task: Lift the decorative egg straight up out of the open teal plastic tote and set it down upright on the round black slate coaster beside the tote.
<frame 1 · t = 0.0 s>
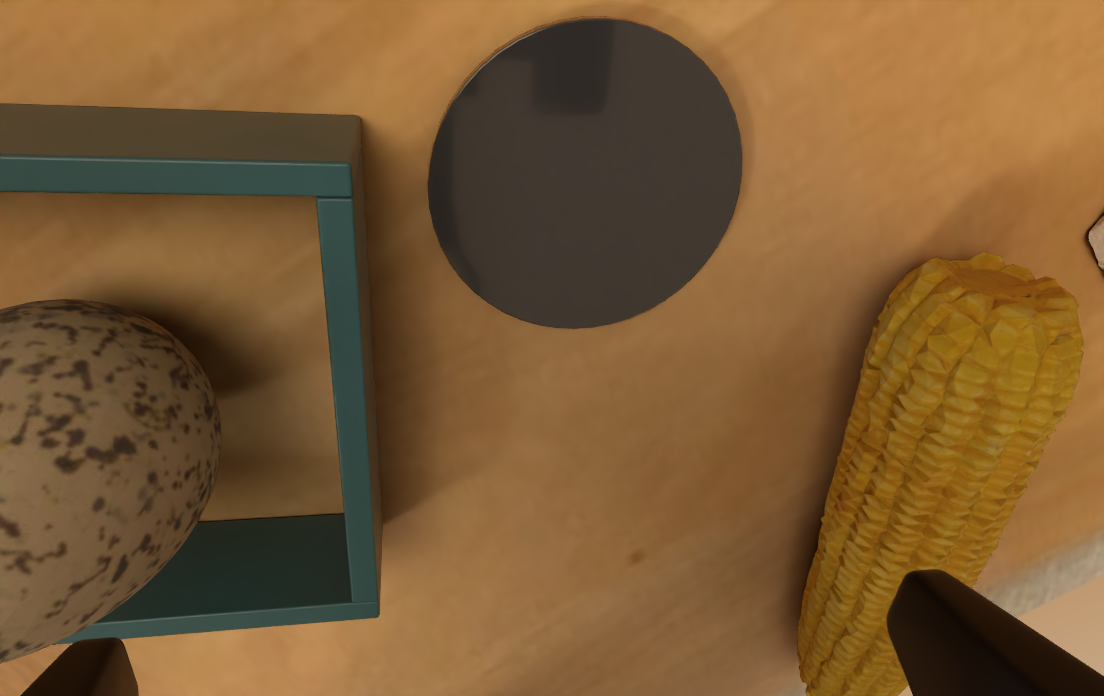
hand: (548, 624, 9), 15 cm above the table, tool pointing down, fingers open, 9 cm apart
coaster: (586, 186, 21), on the table
decorative egg: (118, 356, 22), resting in tote
tote: (116, 359, 22), on the table
food: (863, 469, 30), on the table
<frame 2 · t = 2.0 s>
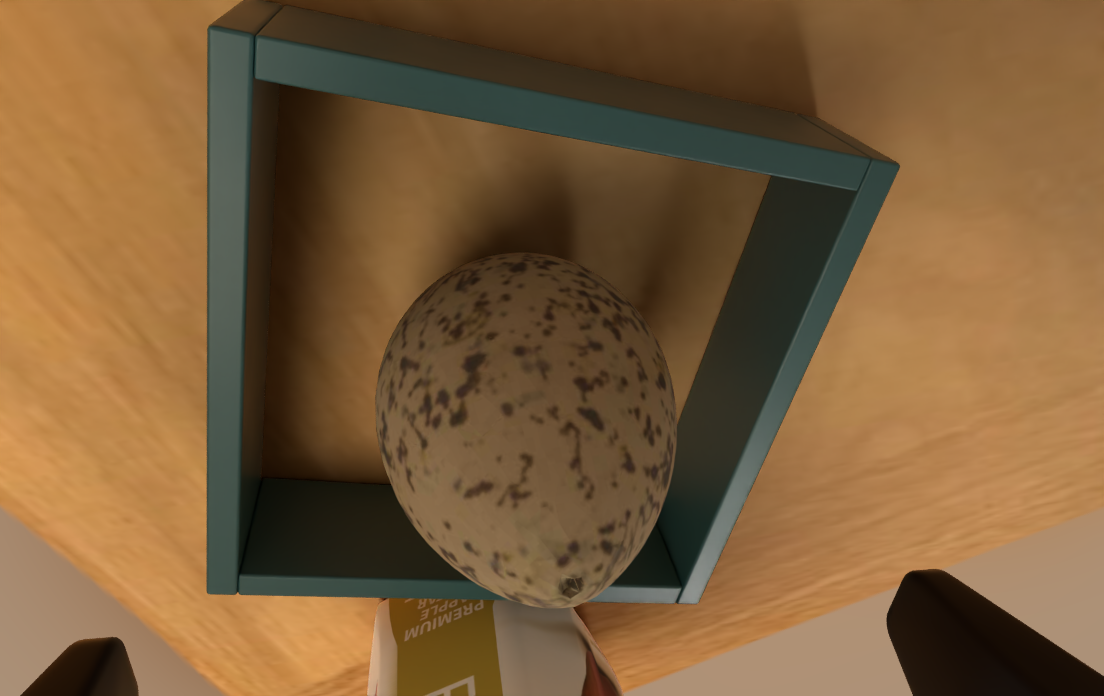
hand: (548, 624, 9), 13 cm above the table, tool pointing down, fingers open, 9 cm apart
juice carton: (490, 616, 29), on the table
decorative egg: (504, 316, 22), resting in tote
tote: (505, 320, 22), on the table
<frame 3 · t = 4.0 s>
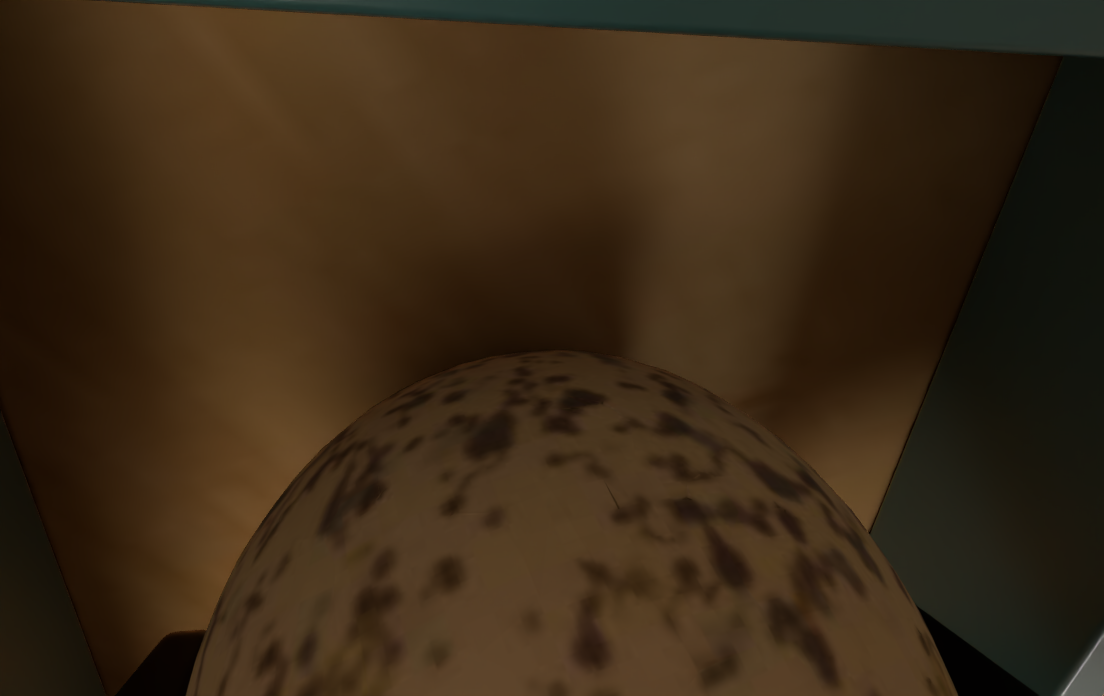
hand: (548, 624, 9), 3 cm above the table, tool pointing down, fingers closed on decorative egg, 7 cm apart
decorative egg: (512, 447, 11), resting in tote, touching gripper
tote: (513, 455, 11), on the table
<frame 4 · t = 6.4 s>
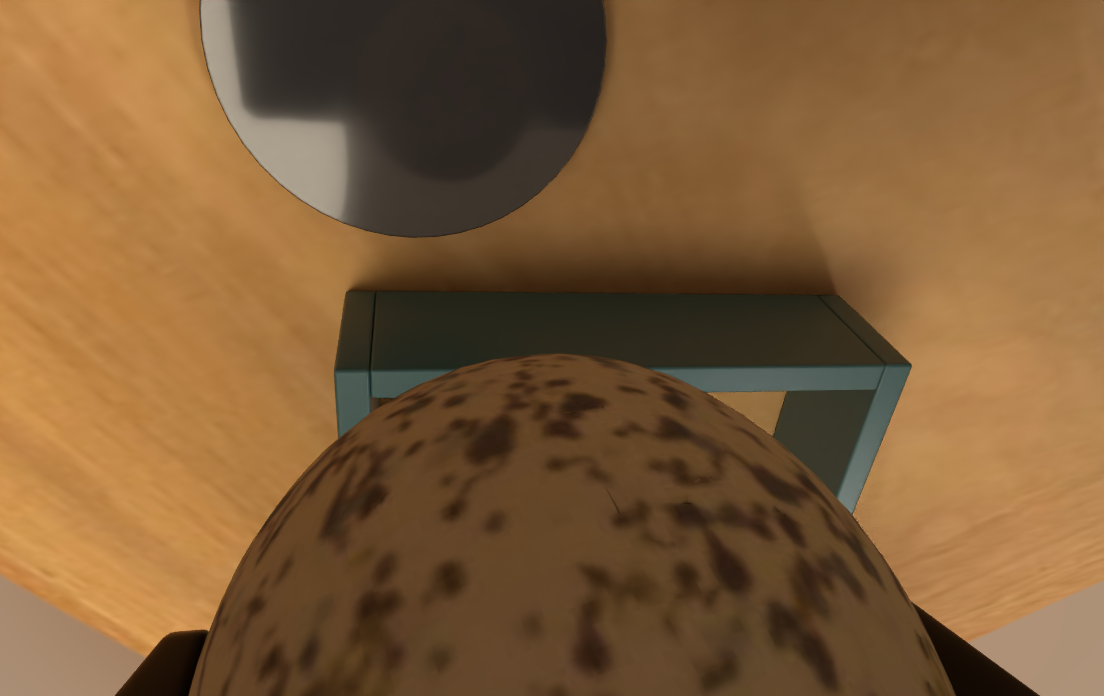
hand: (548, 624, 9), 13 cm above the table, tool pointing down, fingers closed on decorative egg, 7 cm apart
coaster: (413, 50, 17), on the table
decorative egg: (512, 449, 11), point 10 cm above the table, touching gripper
tote: (579, 485, 25), on the table
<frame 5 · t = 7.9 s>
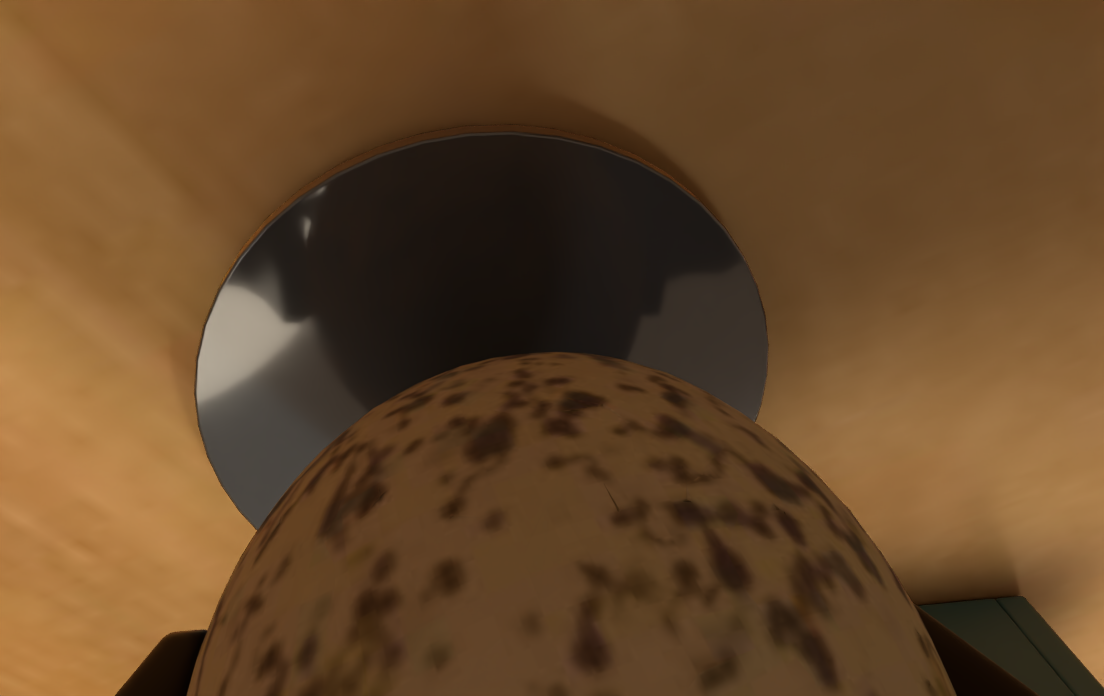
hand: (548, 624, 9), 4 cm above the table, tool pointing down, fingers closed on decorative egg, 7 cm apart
coaster: (496, 400, 12), on the table
decorative egg: (512, 448, 11), point 1 cm above the table, touching gripper
when the fingers open (3 cm above the table, at t = 8.8 s): decorative egg stays where it is, resting on coaster.
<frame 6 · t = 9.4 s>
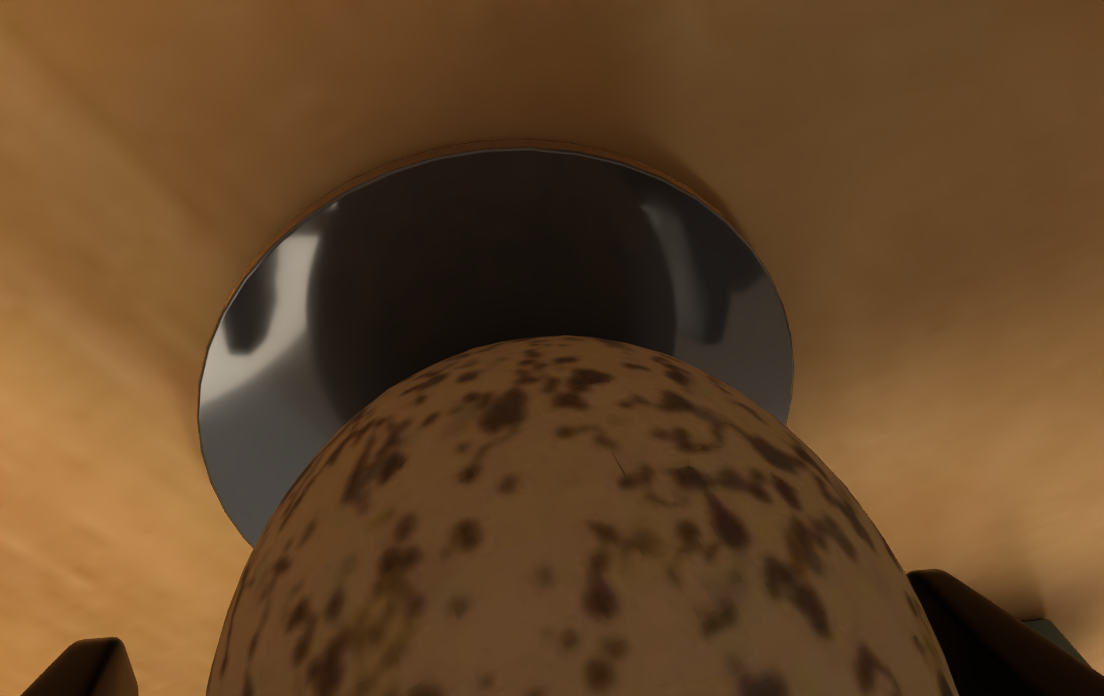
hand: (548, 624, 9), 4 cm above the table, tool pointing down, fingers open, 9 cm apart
coaster: (510, 423, 12), on the table
decorative egg: (518, 433, 12), resting on coaster
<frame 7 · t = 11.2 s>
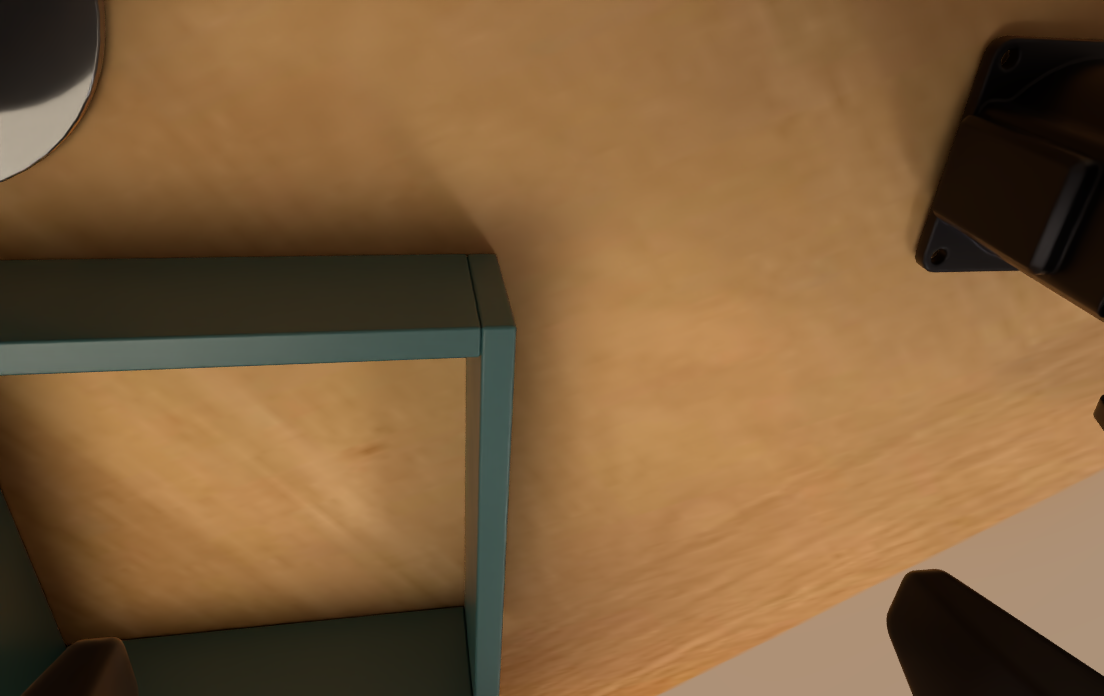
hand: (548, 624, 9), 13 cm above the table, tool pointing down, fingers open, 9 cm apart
tote: (247, 479, 22), on the table
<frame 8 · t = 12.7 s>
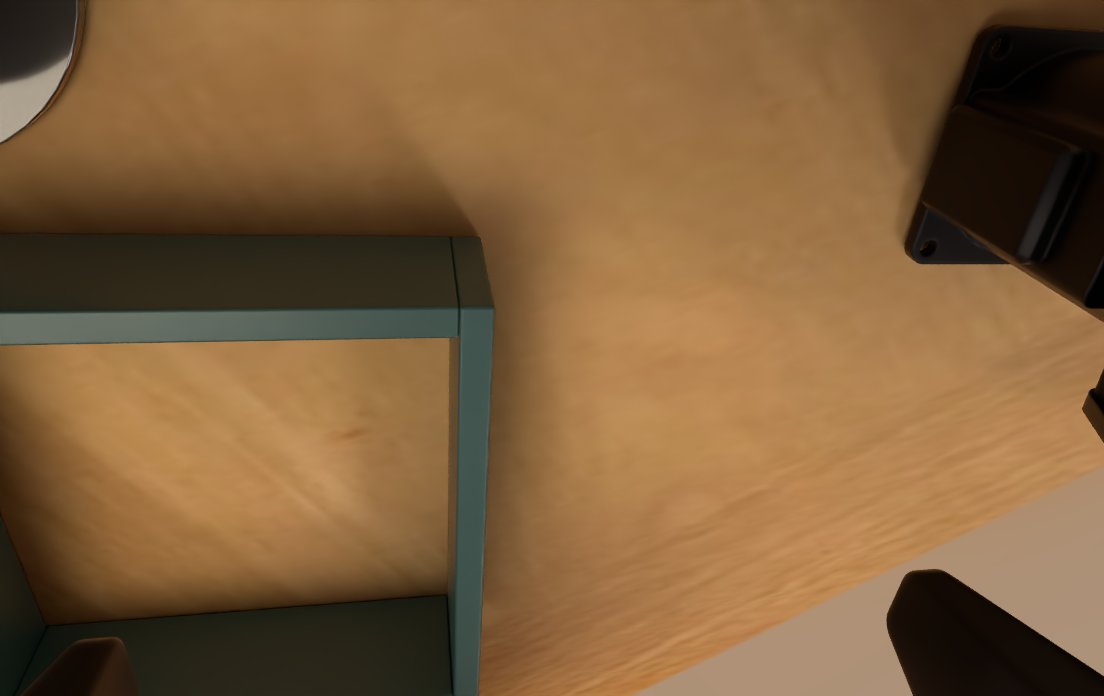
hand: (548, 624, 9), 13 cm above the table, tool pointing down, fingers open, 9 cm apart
tote: (228, 461, 22), on the table
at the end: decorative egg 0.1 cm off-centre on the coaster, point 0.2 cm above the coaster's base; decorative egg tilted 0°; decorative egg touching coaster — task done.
